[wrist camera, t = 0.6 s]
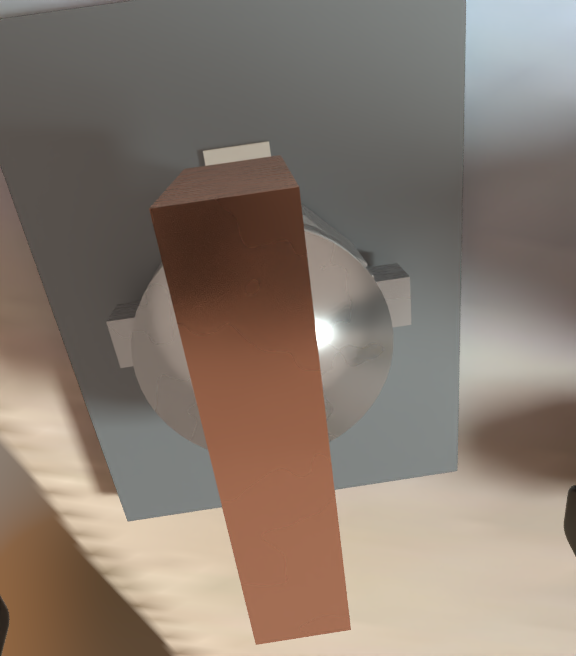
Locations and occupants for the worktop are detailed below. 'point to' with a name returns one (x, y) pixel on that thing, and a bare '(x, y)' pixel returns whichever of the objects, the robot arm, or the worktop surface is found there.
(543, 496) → the worktop surface
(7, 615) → the robot arm
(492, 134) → the worktop surface
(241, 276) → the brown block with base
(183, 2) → the post plate
